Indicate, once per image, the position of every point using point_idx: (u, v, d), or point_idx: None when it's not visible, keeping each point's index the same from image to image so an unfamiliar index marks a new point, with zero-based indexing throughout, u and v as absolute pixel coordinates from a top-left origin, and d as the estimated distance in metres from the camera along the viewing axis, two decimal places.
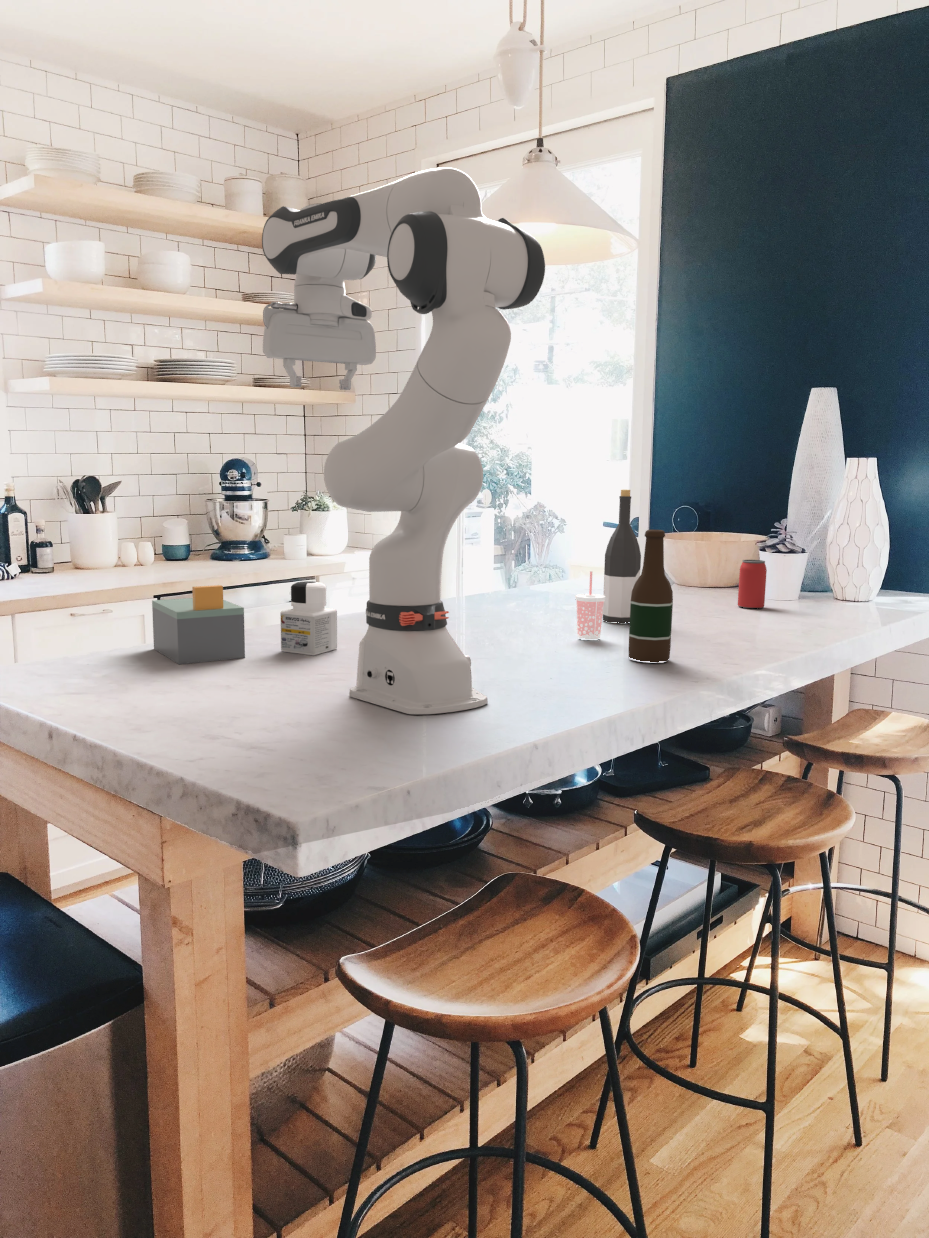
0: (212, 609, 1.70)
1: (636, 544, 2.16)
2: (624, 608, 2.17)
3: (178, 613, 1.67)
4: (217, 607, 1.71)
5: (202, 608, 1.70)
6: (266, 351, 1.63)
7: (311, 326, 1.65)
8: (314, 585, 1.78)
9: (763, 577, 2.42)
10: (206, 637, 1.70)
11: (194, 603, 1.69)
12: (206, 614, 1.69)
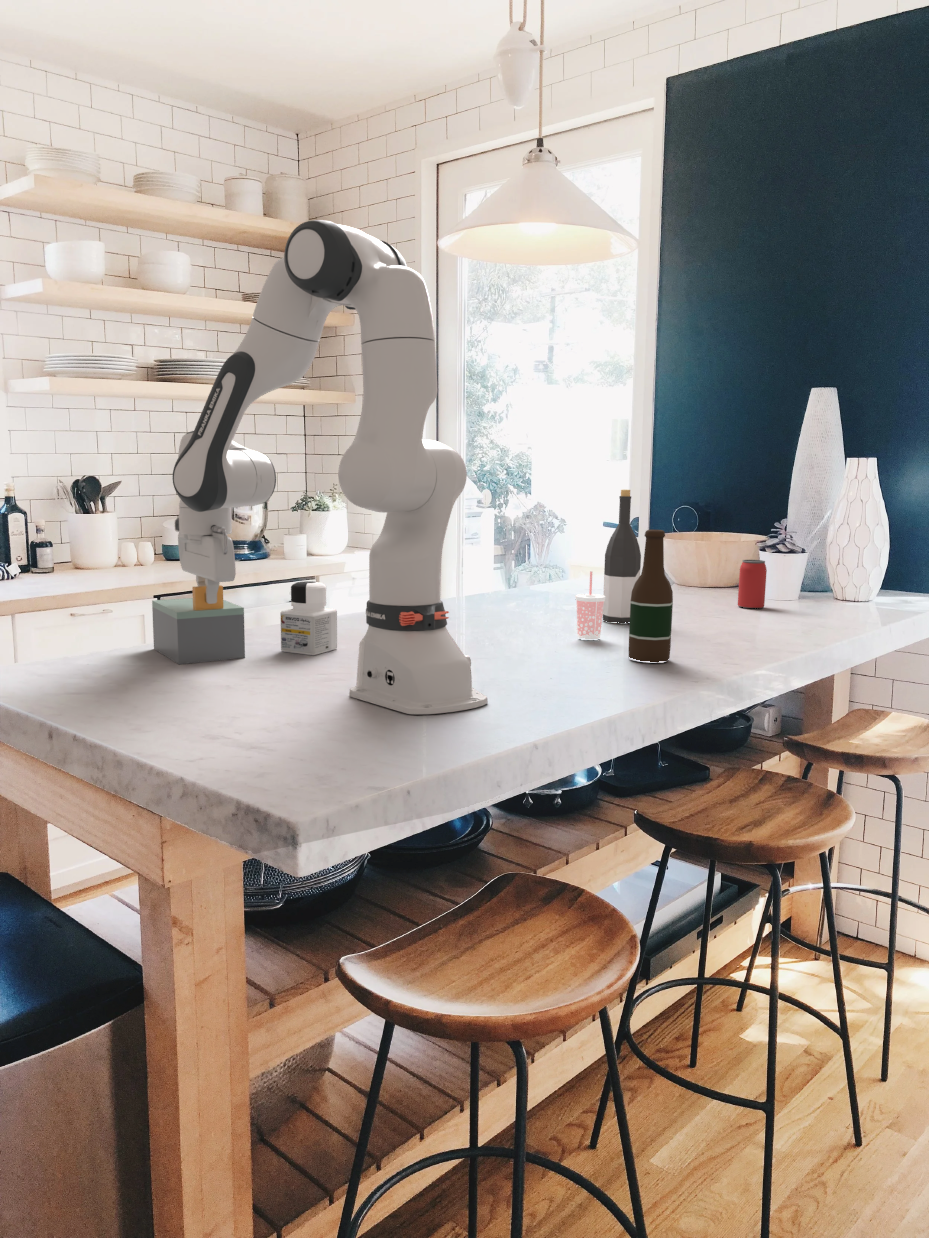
0: (212, 609, 1.70)
1: (636, 544, 2.16)
2: (624, 608, 2.17)
3: (178, 613, 1.67)
4: (217, 607, 1.71)
5: (202, 608, 1.69)
6: (227, 576, 1.62)
7: None
8: (314, 585, 1.78)
9: (763, 577, 2.42)
10: (206, 637, 1.70)
11: (194, 603, 1.69)
12: (206, 614, 1.69)
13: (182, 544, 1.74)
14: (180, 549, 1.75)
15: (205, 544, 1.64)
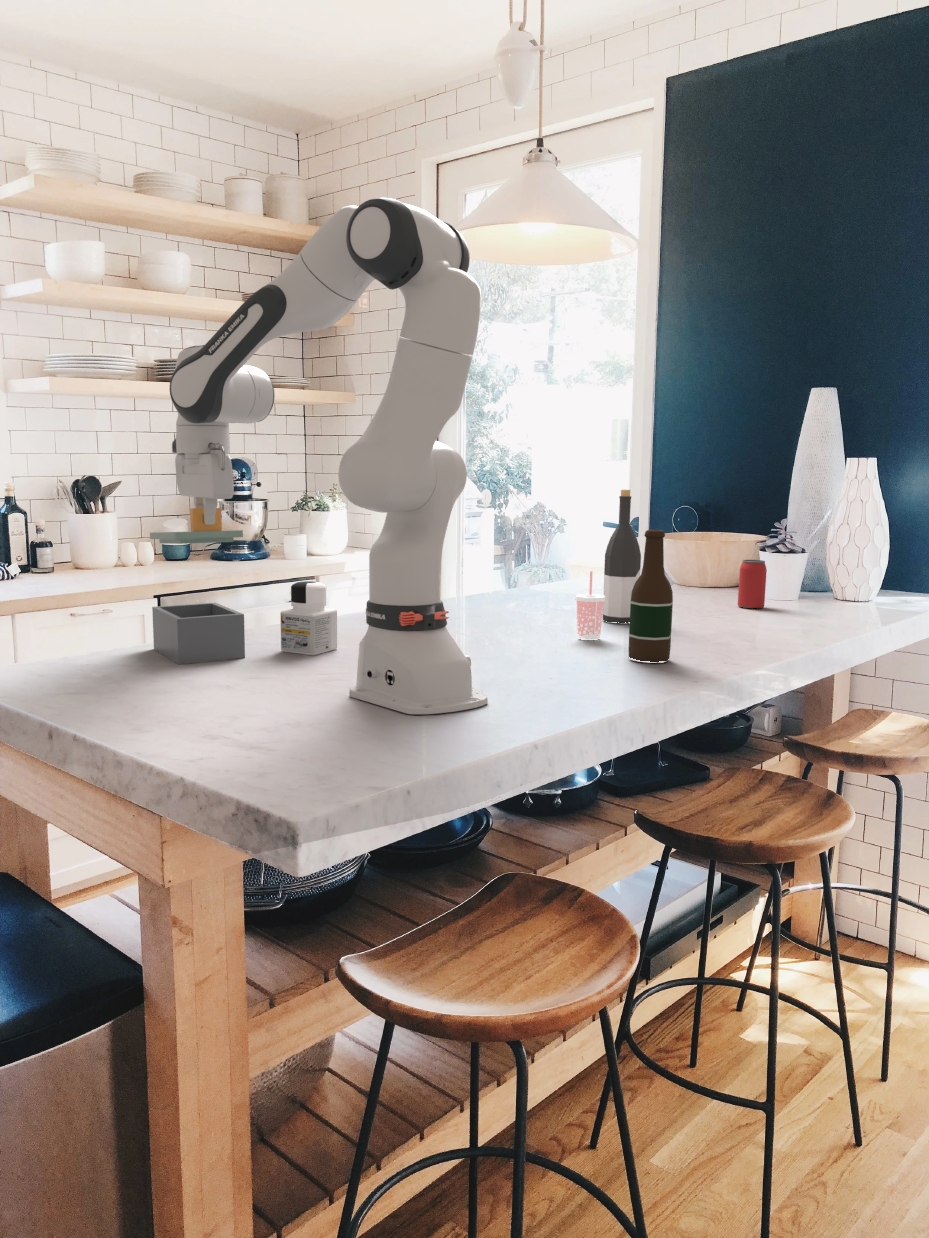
0: (211, 531, 1.68)
1: (636, 544, 2.16)
2: (624, 608, 2.17)
3: (176, 533, 1.64)
4: (215, 529, 1.69)
5: (200, 530, 1.67)
6: (225, 493, 1.59)
7: None
8: (314, 585, 1.78)
9: (763, 577, 2.42)
10: (206, 637, 1.70)
11: (192, 525, 1.67)
12: (205, 535, 1.67)
13: (180, 468, 1.72)
14: (177, 473, 1.73)
15: (202, 462, 1.62)
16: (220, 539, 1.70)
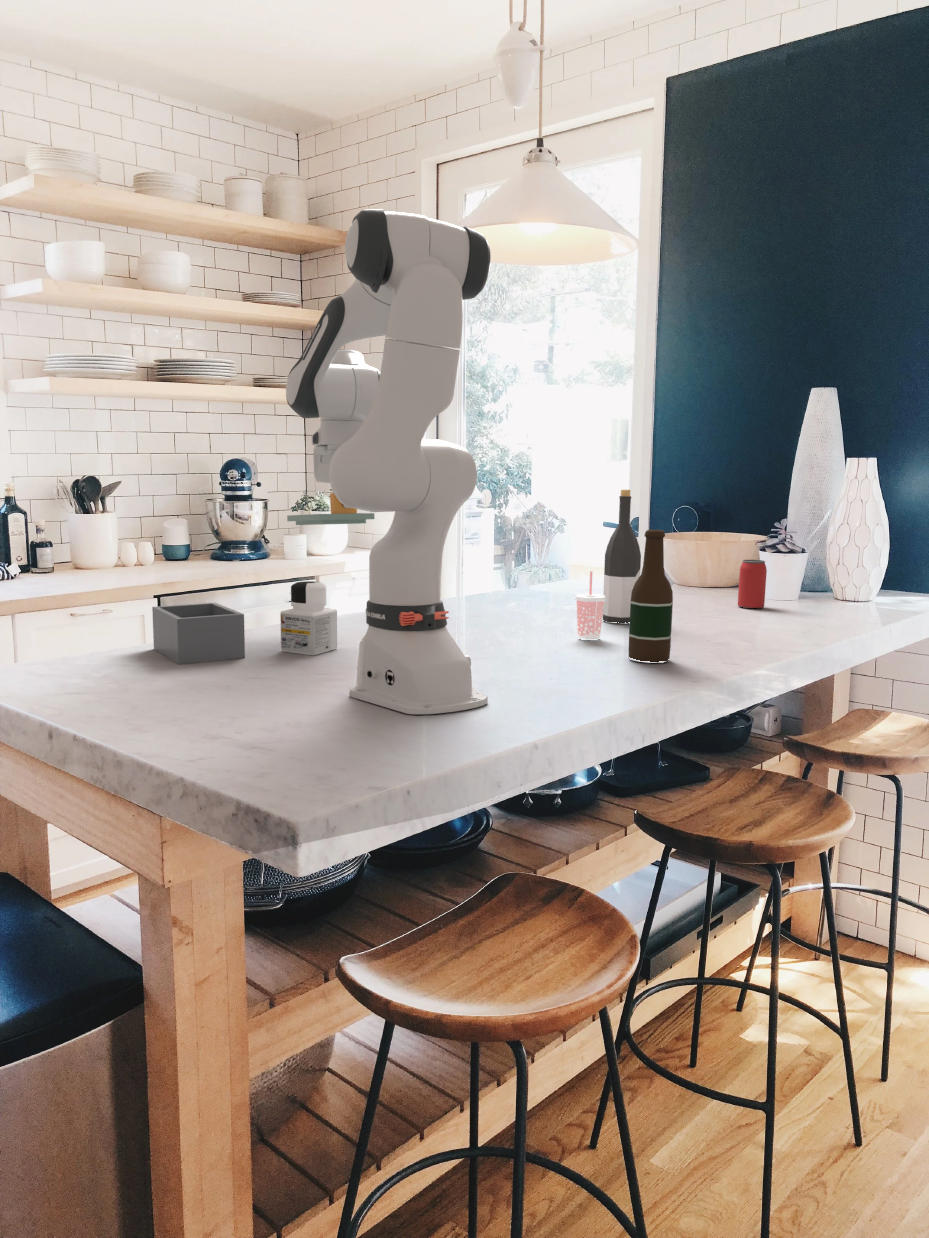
0: (348, 513, 1.90)
1: (636, 544, 2.16)
2: (624, 608, 2.17)
3: (320, 515, 1.87)
4: (352, 512, 1.91)
5: (339, 512, 1.90)
6: None
7: None
8: (314, 585, 1.78)
9: (763, 577, 2.42)
10: (206, 637, 1.70)
11: (332, 508, 1.89)
12: (343, 517, 1.89)
13: (318, 457, 1.95)
14: (315, 462, 1.95)
15: None
16: (355, 521, 1.92)
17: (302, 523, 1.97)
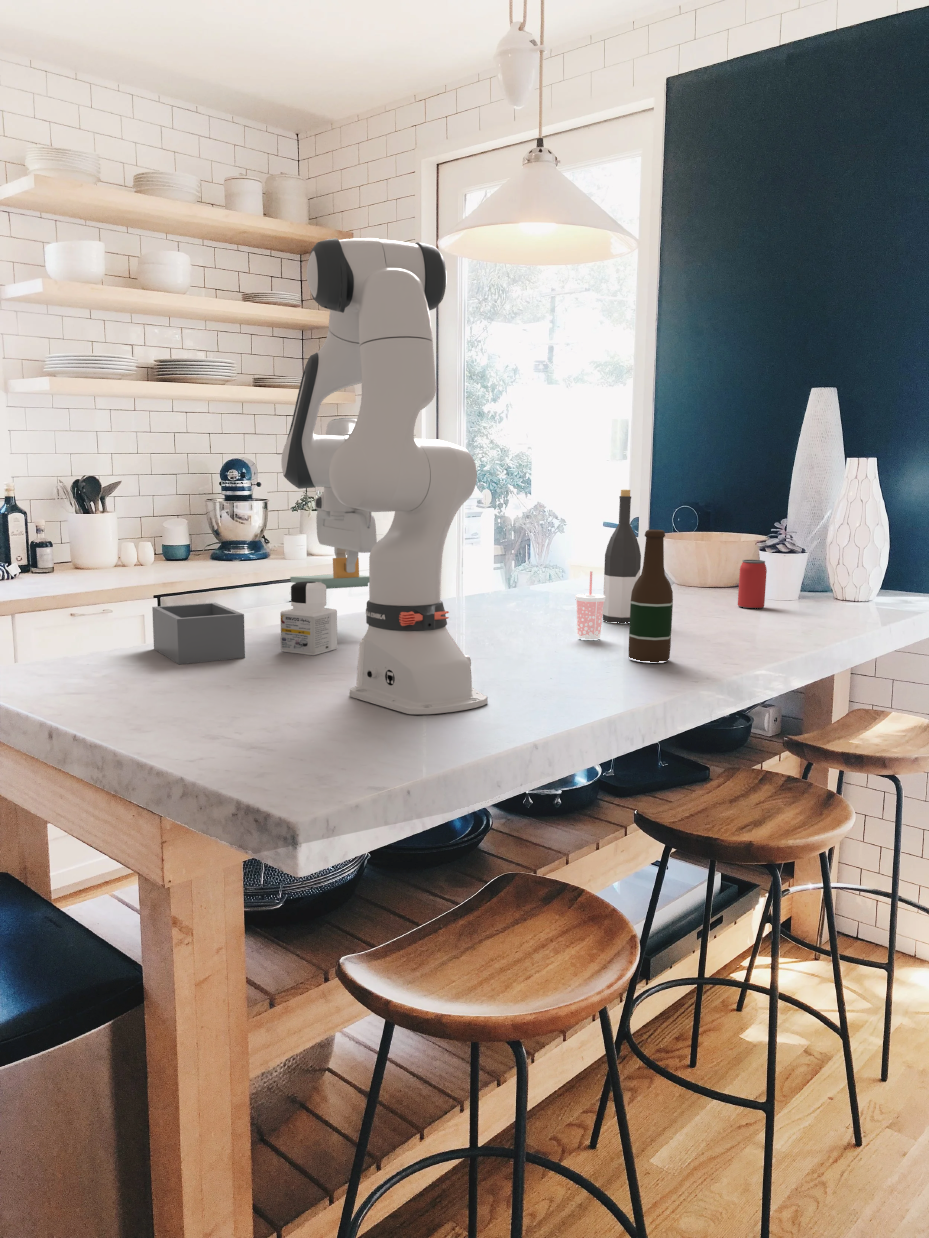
0: (350, 577, 1.93)
1: (636, 544, 2.16)
2: (624, 608, 2.17)
3: (323, 580, 1.89)
4: (354, 576, 1.94)
5: (342, 576, 1.92)
6: (370, 548, 1.84)
7: None
8: (314, 585, 1.78)
9: (763, 577, 2.42)
10: (206, 637, 1.70)
11: (335, 572, 1.92)
12: (346, 581, 1.92)
13: (321, 521, 1.97)
14: (318, 525, 1.98)
15: (348, 520, 1.87)
16: (357, 584, 1.95)
17: None
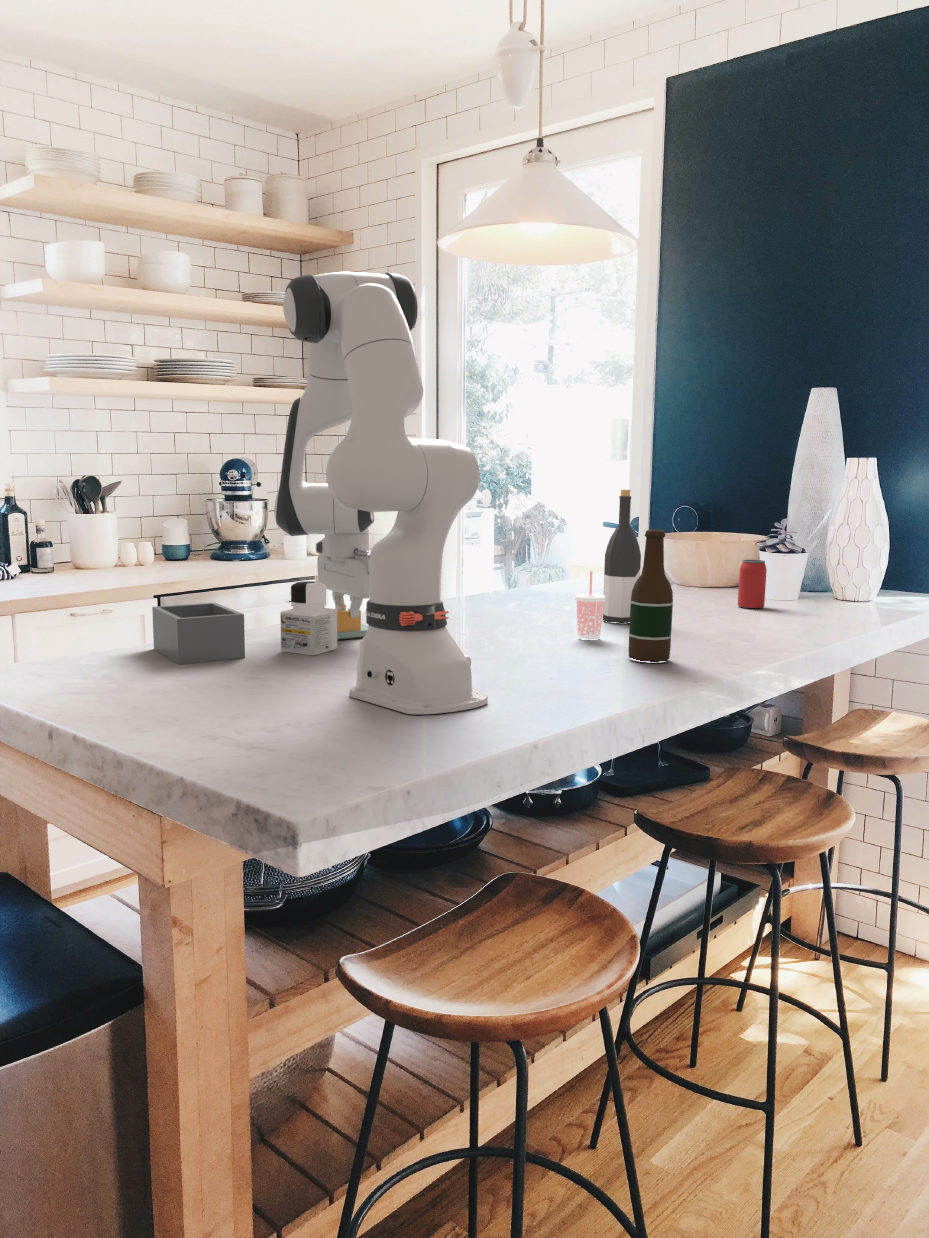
0: (352, 631, 1.94)
1: (636, 544, 2.16)
2: (624, 608, 2.17)
3: None
4: (356, 629, 1.95)
5: (343, 630, 1.93)
6: None
7: None
8: (314, 585, 1.78)
9: (763, 577, 2.42)
10: (206, 637, 1.70)
11: (337, 625, 1.93)
12: (347, 635, 1.93)
13: (322, 564, 1.99)
14: (319, 568, 1.99)
15: (349, 565, 1.88)
16: (358, 636, 1.96)
17: None
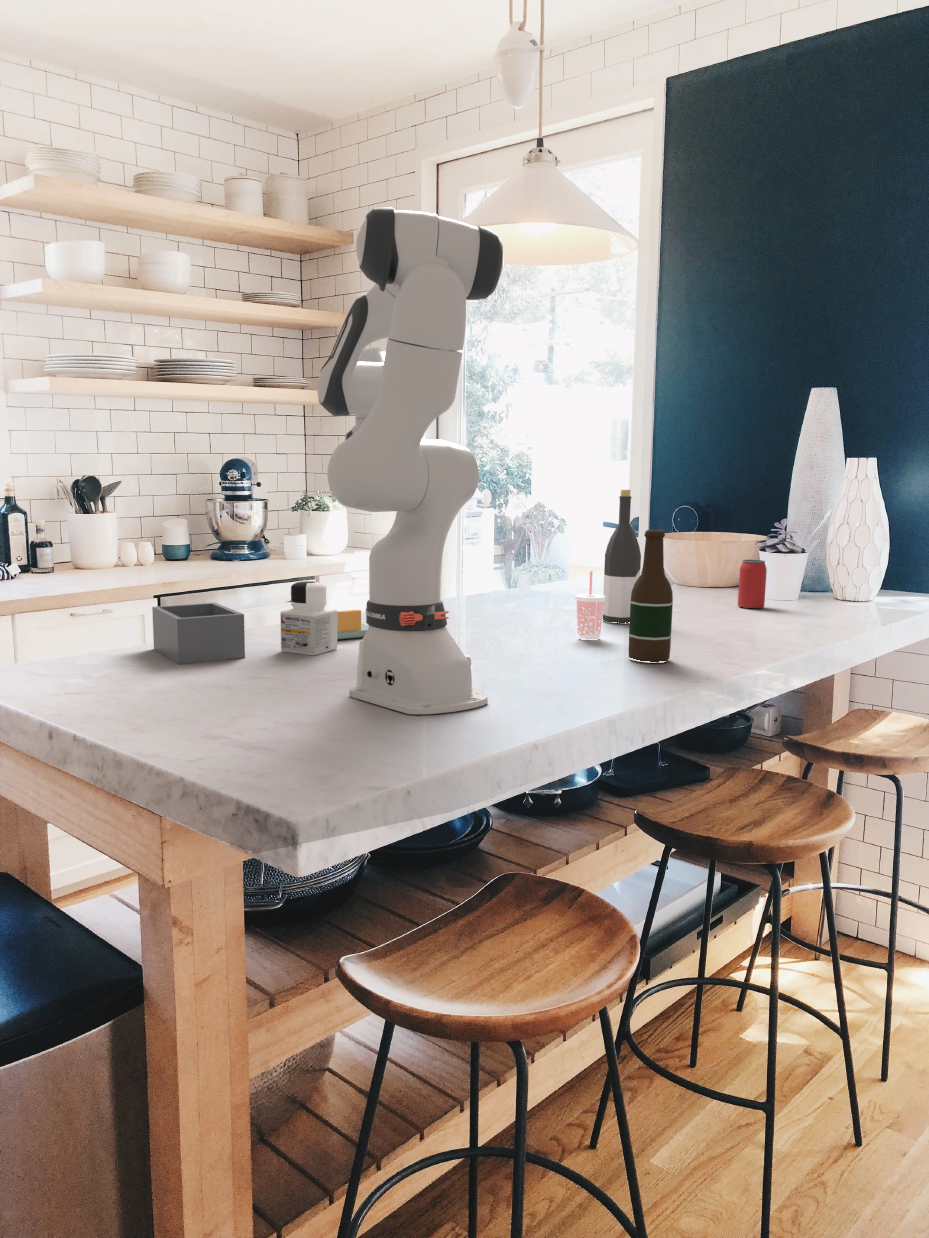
0: (353, 631, 1.94)
1: (636, 544, 2.16)
2: (624, 608, 2.17)
3: None
4: (356, 629, 1.95)
5: (344, 630, 1.93)
6: None
7: None
8: (314, 585, 1.78)
9: (763, 577, 2.42)
10: (206, 637, 1.70)
11: (337, 625, 1.93)
12: (348, 635, 1.93)
13: None
14: None
15: None
16: (359, 636, 1.96)
17: None
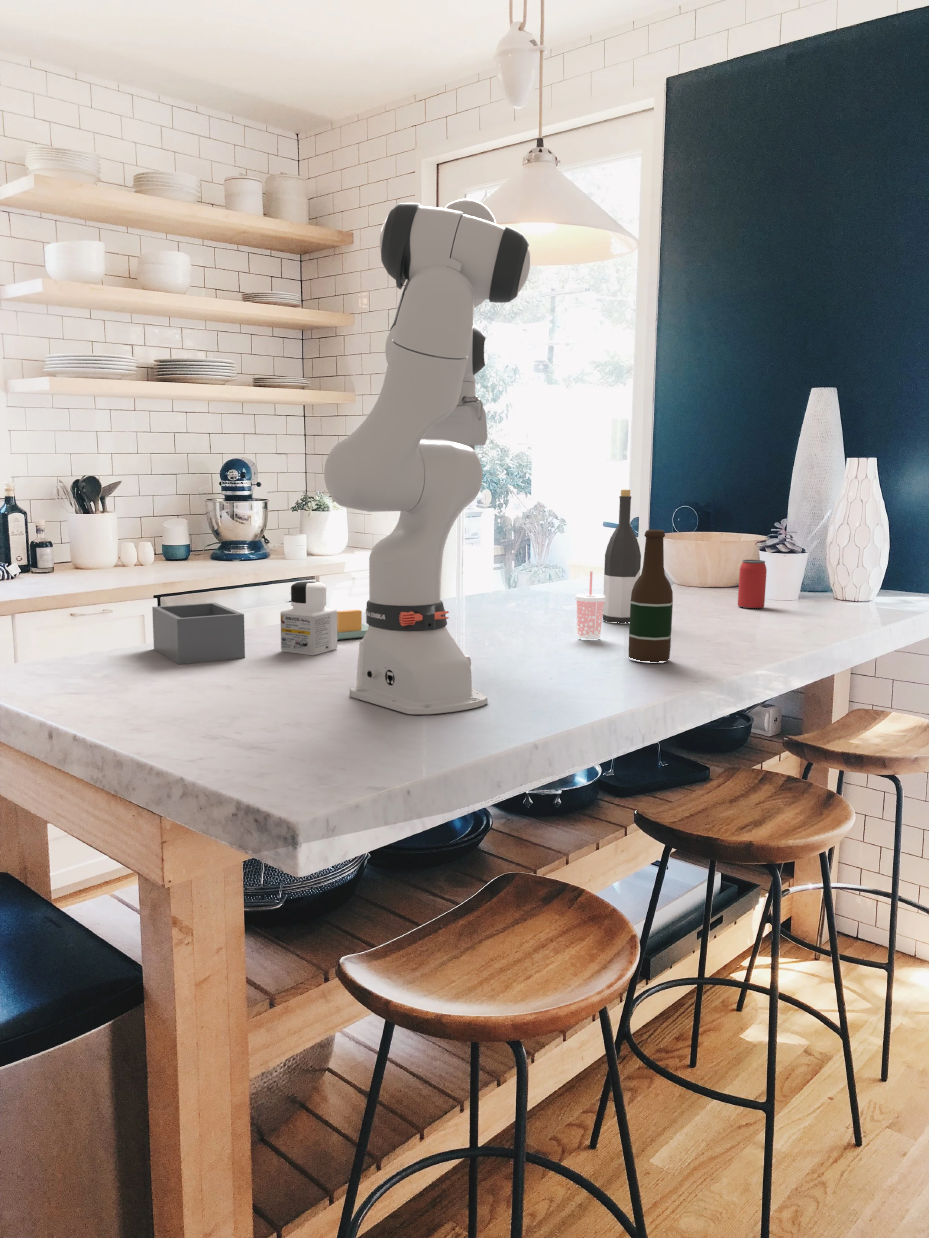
0: (353, 631, 1.94)
1: (636, 544, 2.16)
2: (624, 608, 2.17)
3: None
4: (356, 629, 1.95)
5: (344, 630, 1.93)
6: (481, 440, 1.82)
7: None
8: (314, 585, 1.78)
9: (763, 577, 2.42)
10: (206, 637, 1.70)
11: (337, 626, 1.93)
12: (348, 635, 1.93)
13: None
14: None
15: (458, 413, 1.84)
16: (359, 637, 1.96)
17: None
